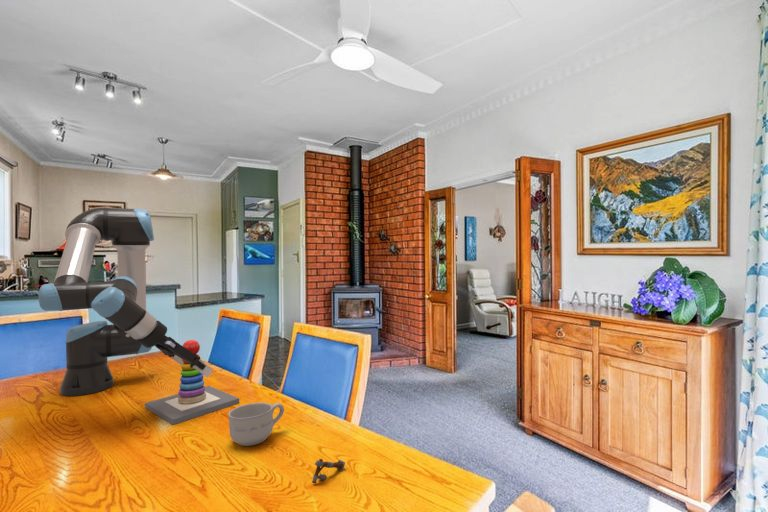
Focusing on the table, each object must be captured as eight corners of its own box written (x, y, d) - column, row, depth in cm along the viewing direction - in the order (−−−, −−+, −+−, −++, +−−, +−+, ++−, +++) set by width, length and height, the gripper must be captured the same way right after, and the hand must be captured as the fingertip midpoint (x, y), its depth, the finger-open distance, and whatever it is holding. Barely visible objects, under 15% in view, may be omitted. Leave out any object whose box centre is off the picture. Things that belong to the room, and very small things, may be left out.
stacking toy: (211, 395, 125) (210, 337, 125) (196, 405, 117) (196, 343, 117) (188, 394, 126) (187, 337, 125) (172, 404, 118) (171, 343, 118)
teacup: (231, 455, 90) (230, 421, 90) (226, 436, 100) (226, 405, 100) (290, 441, 97) (290, 409, 97) (280, 424, 106) (280, 395, 106)
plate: (145, 407, 120) (145, 402, 120) (208, 389, 135) (208, 384, 135) (172, 424, 107) (172, 418, 107) (239, 403, 123) (239, 397, 123)
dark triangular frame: (306, 481, 78) (313, 457, 80) (333, 480, 84) (339, 458, 85) (312, 484, 77) (319, 460, 78) (339, 484, 83) (345, 461, 84)
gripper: (121, 335, 117) (174, 372, 129) (154, 346, 101) (210, 388, 113) (140, 315, 121) (190, 353, 133) (175, 323, 105) (227, 366, 117)
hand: (199, 369), depth 123 cm, fingers open, 13 cm apart
